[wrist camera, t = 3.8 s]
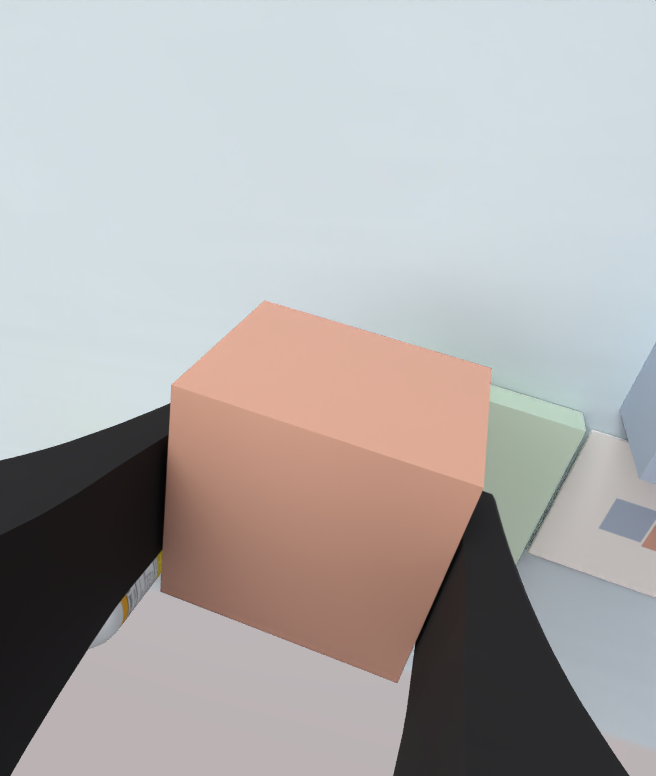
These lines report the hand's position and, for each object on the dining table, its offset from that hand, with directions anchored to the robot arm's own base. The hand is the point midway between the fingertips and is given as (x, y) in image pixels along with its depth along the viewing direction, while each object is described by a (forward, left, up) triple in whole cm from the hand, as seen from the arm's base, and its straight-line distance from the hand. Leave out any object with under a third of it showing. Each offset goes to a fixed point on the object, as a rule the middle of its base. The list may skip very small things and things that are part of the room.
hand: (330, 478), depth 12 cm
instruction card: (-10, +5, -9) cm, 14 cm away
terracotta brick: (0, 0, -2) cm, 2 cm away
